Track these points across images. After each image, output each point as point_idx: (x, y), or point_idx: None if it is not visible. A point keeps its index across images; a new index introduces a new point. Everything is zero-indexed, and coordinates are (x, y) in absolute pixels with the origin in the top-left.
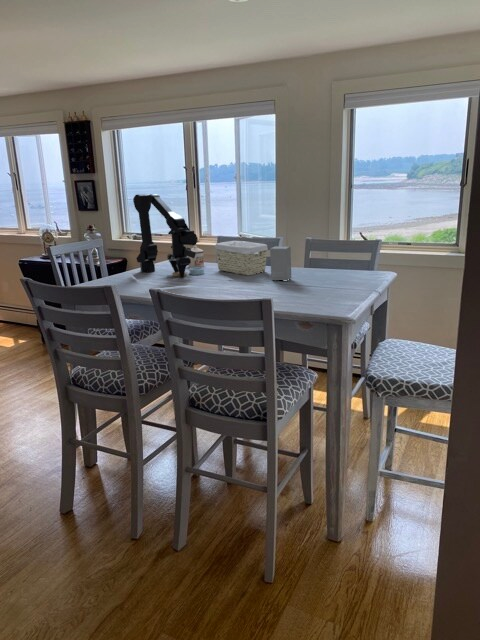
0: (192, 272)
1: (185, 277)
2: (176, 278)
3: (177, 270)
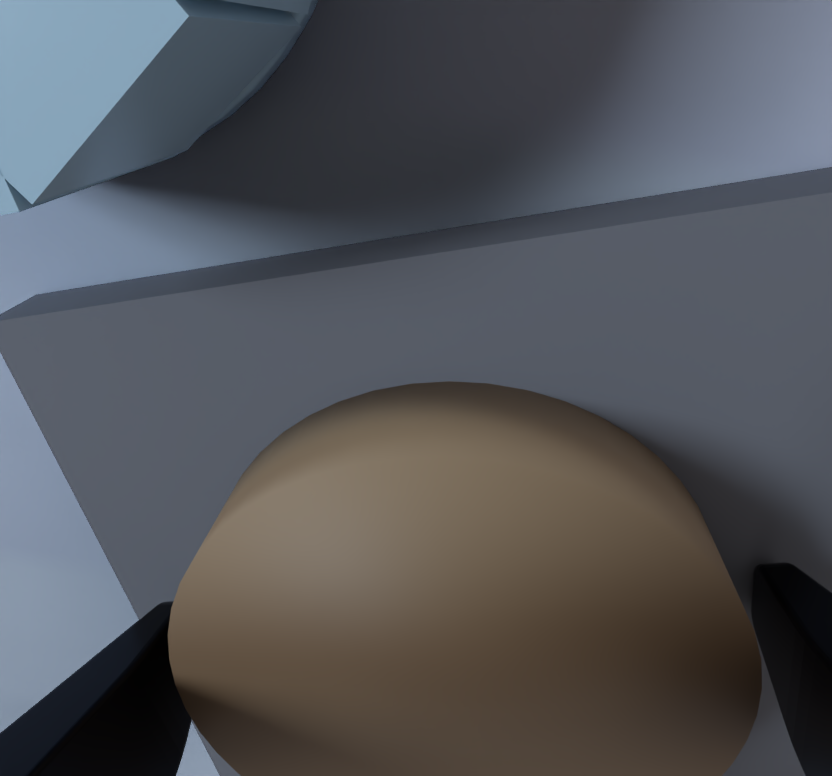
0: (212, 76)
1: (823, 490)
2: None
3: (118, 732)
